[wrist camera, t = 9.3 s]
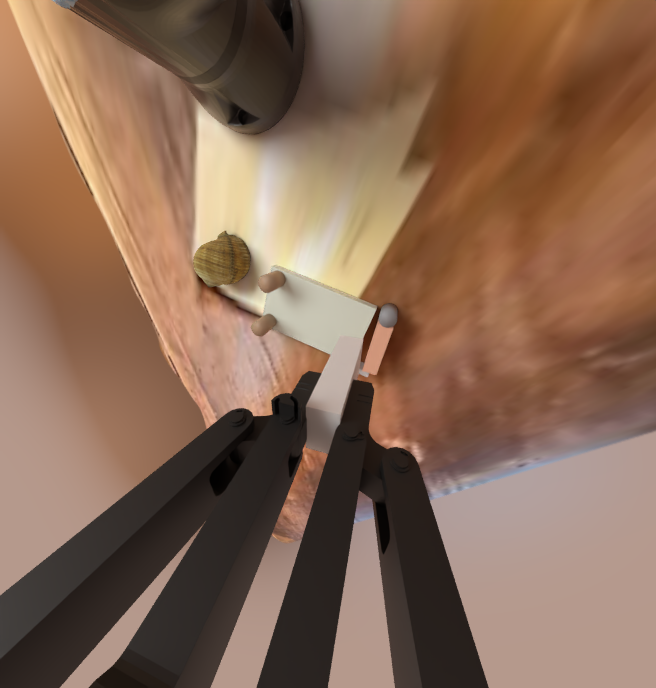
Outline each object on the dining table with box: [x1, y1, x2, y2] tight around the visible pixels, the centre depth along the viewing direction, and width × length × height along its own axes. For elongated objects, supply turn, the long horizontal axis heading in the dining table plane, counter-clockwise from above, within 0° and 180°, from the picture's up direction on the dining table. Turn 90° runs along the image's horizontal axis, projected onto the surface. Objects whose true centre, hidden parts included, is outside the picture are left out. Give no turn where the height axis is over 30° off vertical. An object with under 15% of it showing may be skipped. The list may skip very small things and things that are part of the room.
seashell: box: [193, 231, 250, 287], centre depth 39 cm, size 10×7×8 cm
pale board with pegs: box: [251, 265, 377, 377], centre depth 39 cm, size 22×12×6 cm, turn 70°
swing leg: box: [362, 303, 398, 375], centre depth 38 cm, size 11×3×4 cm, turn 167°
